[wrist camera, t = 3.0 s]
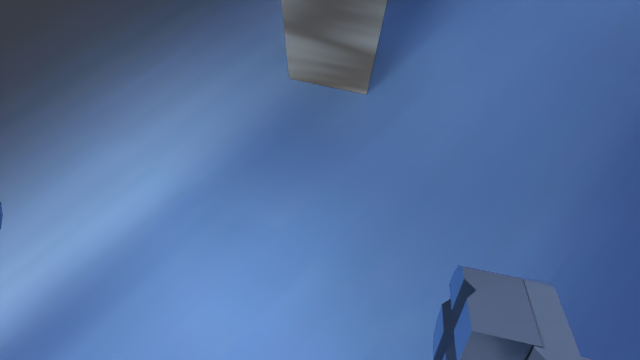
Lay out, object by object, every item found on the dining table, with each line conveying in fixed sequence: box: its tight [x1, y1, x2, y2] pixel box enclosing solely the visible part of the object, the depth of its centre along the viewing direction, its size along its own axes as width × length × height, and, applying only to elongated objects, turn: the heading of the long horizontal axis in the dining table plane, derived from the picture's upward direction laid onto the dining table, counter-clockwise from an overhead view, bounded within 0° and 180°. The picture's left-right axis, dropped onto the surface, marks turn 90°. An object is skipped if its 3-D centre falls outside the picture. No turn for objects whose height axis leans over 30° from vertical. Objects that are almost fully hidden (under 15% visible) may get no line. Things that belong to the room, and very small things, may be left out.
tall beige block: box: [281, 0, 387, 95], centre depth 23 cm, size 4×3×9 cm
